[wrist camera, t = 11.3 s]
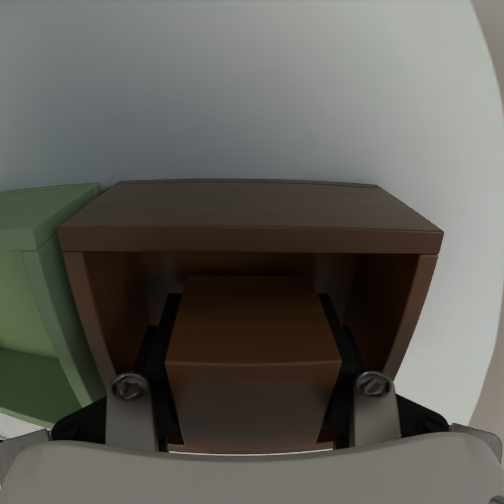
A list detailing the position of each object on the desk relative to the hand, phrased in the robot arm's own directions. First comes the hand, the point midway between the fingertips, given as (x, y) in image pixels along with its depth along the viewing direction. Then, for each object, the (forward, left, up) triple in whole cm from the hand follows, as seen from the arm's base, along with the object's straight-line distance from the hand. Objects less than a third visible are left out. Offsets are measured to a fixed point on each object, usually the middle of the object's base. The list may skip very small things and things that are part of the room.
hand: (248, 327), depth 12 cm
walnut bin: (0, 0, -2) cm, 2 cm away
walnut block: (0, 0, 0) cm, 0 cm away
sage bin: (0, -11, -2) cm, 12 cm away
